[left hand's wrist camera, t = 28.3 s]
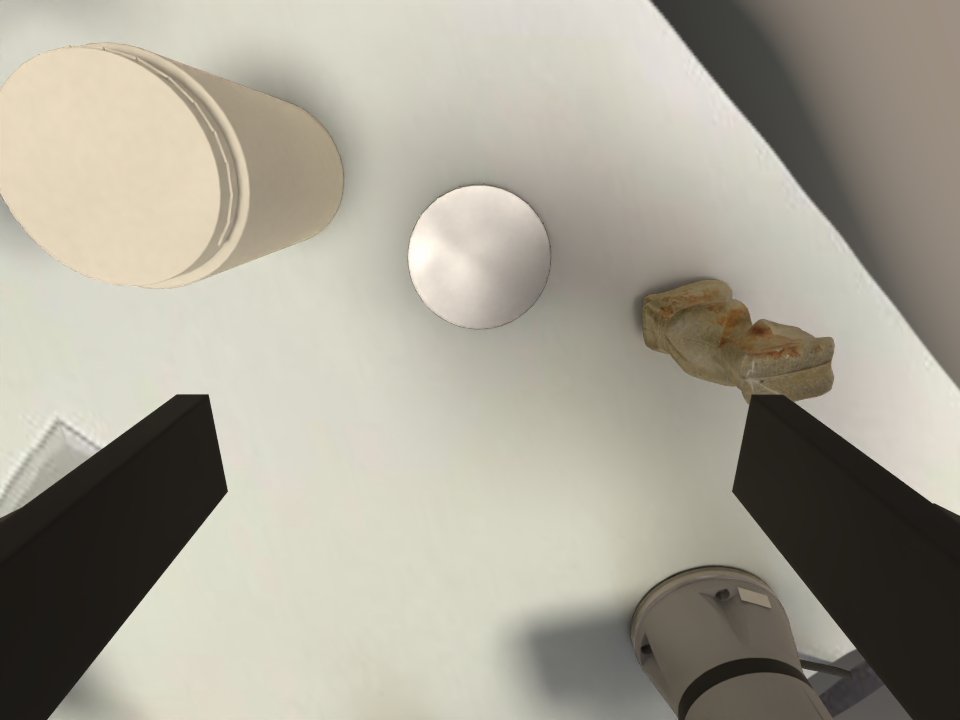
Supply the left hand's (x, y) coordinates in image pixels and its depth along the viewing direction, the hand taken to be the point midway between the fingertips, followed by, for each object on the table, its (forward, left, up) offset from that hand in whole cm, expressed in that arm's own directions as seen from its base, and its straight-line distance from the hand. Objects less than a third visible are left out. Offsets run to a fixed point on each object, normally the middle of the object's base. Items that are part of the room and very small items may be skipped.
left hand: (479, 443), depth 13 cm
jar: (+15, +6, -29) cm, 33 cm away
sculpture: (-14, -8, -29) cm, 33 cm away
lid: (0, 0, -28) cm, 28 cm away
